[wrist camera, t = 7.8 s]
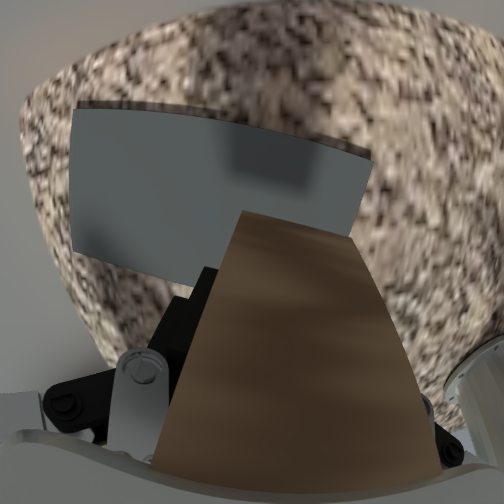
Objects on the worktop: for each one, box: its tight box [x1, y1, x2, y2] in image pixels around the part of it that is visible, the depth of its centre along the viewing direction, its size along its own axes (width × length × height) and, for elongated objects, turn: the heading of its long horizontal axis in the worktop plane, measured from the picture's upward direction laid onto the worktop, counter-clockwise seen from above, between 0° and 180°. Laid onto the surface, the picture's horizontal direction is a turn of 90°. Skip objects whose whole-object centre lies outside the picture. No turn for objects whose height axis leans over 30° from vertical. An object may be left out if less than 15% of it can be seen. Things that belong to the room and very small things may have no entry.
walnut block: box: [149, 210, 443, 494], centre depth 8 cm, size 5×5×11 cm
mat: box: [69, 109, 374, 287], centre depth 18 cm, size 21×12×1 cm, turn 78°
